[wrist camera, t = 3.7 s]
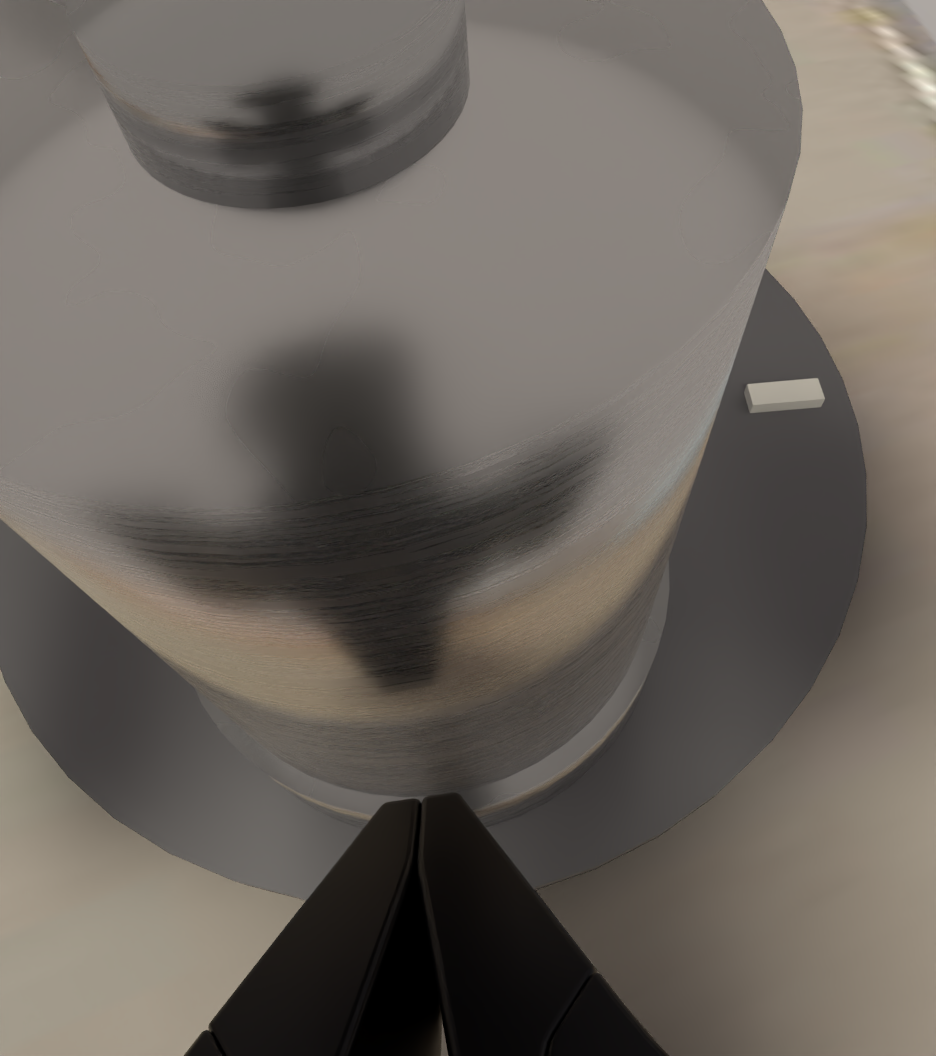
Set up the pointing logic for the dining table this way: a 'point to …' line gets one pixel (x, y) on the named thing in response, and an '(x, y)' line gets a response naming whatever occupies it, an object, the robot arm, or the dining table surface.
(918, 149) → the dining table surface
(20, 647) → the turntable
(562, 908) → the dining table surface
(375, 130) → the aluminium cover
